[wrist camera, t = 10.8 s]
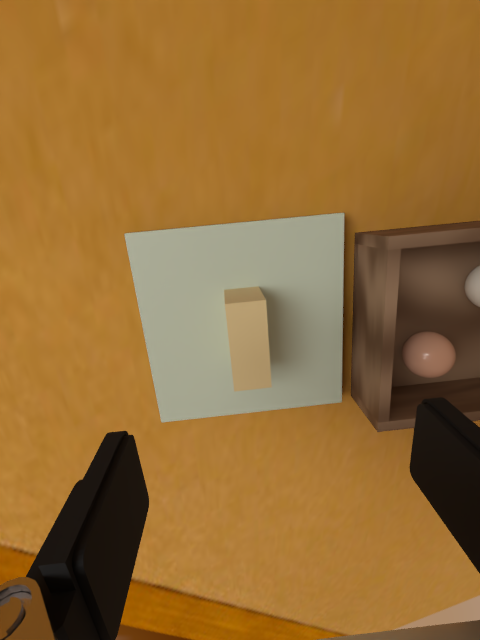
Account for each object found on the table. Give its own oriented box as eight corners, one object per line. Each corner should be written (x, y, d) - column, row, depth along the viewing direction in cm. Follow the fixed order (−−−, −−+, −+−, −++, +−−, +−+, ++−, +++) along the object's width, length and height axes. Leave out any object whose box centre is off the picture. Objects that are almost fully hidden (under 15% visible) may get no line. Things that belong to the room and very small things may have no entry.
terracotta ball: (394, 327, 25) (421, 344, 22) (437, 322, 26) (471, 339, 22) (391, 367, 27) (416, 389, 23) (433, 362, 27) (464, 384, 23)
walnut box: (354, 232, 24) (388, 236, 19) (535, 215, 24) (613, 214, 19) (351, 395, 28) (377, 431, 23) (503, 378, 28) (560, 410, 24)
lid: (128, 233, 22) (103, 236, 17) (339, 213, 22) (370, 211, 18) (163, 415, 27) (151, 457, 22) (337, 395, 27) (362, 433, 22)
